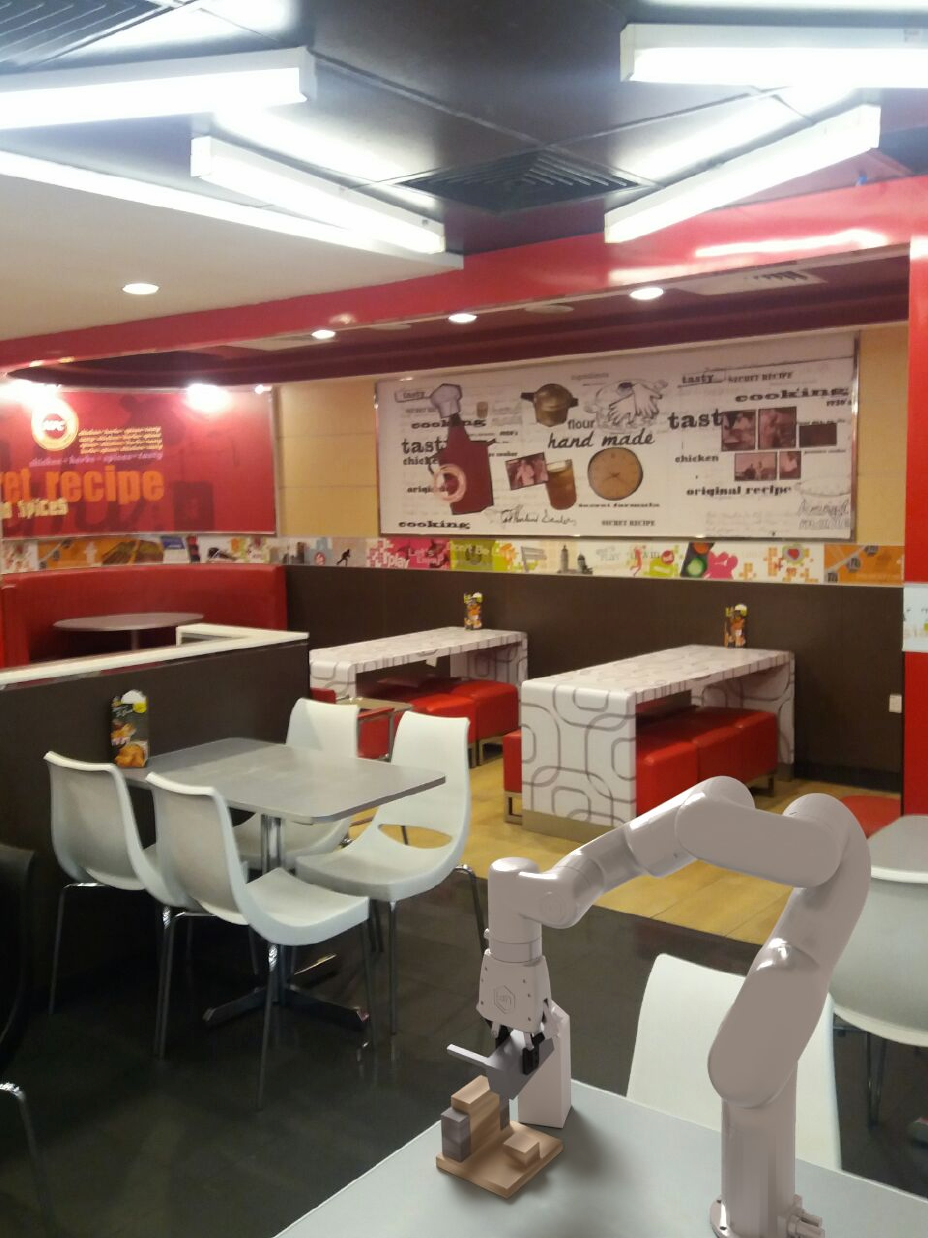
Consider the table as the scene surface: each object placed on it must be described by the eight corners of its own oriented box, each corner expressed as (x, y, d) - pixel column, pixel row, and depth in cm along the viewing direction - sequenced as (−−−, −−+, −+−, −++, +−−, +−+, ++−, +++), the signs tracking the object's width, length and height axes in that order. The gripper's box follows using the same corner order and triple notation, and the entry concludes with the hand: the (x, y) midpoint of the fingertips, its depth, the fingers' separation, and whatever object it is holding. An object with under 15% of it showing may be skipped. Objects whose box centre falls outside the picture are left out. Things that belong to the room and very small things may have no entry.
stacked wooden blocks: (562, 1150, 169) (561, 1090, 167) (507, 1199, 158) (505, 1136, 157) (492, 1121, 177) (491, 1064, 175) (436, 1166, 166) (433, 1105, 165)
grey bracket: (554, 1049, 167) (549, 1022, 165) (513, 1100, 159) (506, 1072, 157) (494, 1028, 173) (489, 1002, 172) (452, 1076, 166) (445, 1049, 164)
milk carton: (517, 1123, 176) (514, 1008, 174) (528, 1099, 183) (525, 988, 180) (562, 1129, 174) (560, 1013, 171) (571, 1104, 181) (569, 992, 178)
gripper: (453, 940, 163) (456, 1059, 165) (549, 970, 152) (551, 1096, 155) (484, 923, 168) (486, 1038, 171) (579, 950, 158) (580, 1073, 161)
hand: (517, 1064), depth 163 cm, fingers closed on grey bracket, 4 cm apart
